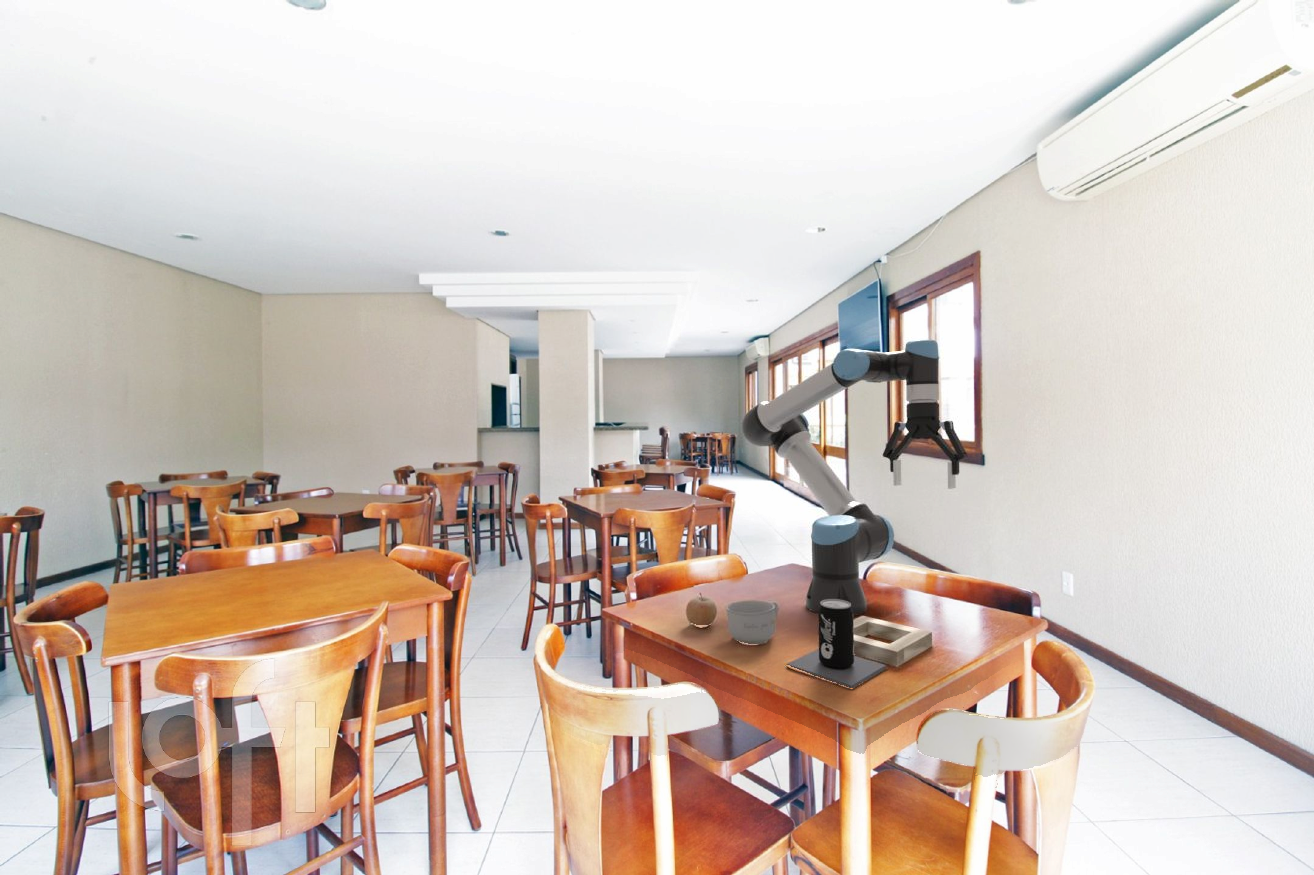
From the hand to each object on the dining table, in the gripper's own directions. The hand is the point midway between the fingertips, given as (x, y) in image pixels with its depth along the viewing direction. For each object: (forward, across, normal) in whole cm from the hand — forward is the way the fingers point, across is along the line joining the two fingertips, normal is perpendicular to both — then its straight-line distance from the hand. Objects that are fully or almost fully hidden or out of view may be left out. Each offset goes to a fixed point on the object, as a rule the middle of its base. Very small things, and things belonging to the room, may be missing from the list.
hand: (923, 486), depth 151 cm
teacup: (+32, +18, +45) cm, 58 cm away
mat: (+32, -3, +47) cm, 57 cm away
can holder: (+32, -3, +30) cm, 44 cm away
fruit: (+32, +33, +47) cm, 66 cm away
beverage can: (+31, -3, +47) cm, 56 cm away
